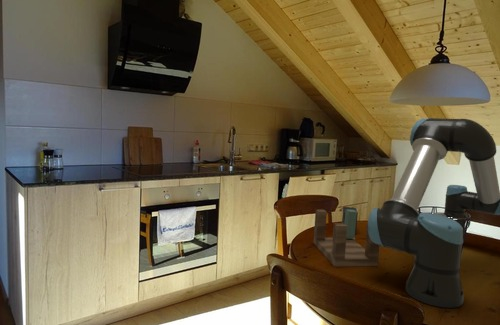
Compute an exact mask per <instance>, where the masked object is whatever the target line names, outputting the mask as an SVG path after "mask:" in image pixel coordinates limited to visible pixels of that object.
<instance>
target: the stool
mask: <svg viewBox="0 0 500 325" xmlns="http://www.w3.org/2000/svg"><path fill="white" fill-rule="evenodd" d="M327 212H328V211H326V209H319V208H318V209H315V214H314V228H313V230H314V231H313V234H314V235H313V244H314V246H315V248H317V249H318V250H319V251H320V252H321V254H322V255H323V256H324V257H325V258H326V259H327V260H328V261H329V262H330V264H332V266H334V267H378V266H379V258H380V257H379V256H380V247H381V245H378V244H375V243H373V242H372V241H371V239H370V237H369V234H368V222H367V223H366V230H365V231H366V235H365V247H363V246H362V245H361V244H359V243H358V242H357V241H355V240H354V239H348V238H346V235H347V226H346V225H345V224H344V223H342V222H334V223H333V230H332V231H333V232H332V237H326V228H327V214H328V213H327Z"/></svg>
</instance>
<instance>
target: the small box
mask: <svg viewBox="0 0 500 325" xmlns="http://www.w3.org/2000/svg"><path fill="white" fill-rule="evenodd" d="M346 209H347V210H355V211H357V218H356V227H355V235H357V225H358V214H359V213H358V210H357V208H356V207H349V206H343V207H342V218H341V223H344V220H345V211H346Z"/></svg>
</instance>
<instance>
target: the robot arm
mask: <svg viewBox="0 0 500 325" xmlns="http://www.w3.org/2000/svg"><path fill="white" fill-rule="evenodd" d="M409 142H410V143H409V144H410V146H411V148H412V150H413V152H412V154H411V156H410V159H409V160H408V163H407V165H406V167H405V168H404V171H403V173H402V175H401V178H400V179H399V181H398V184H397V186H396V188H395V190H394V192H393V194H392V196H391V198H390V199H386V200H385V201H384V202H383V204H382V206H381V207H375V208H374V207H373V209H372V210H371V211H370V213H369V215H368V220H367V223H368V234H369V237H370V239H371V241H372V242H373V243H375V244H378V245H380V247H383V248H388V249H391V250H395V251H397V252H402V253H406V254H409V255H413V256H414V263H413V268H412V269H411V272H410V274H409V276H408V278H407V280H406V282H405V292H406V293H407V294H408V295H409V296H410V297H411V298H413V299H414V300H416V301H418V302H421V303H424V304H426V305H430V306H432V307H433V306H434V307H439V308H446V309H447V308H448V309H455V308H459V307H461V306H463V304H464V300H465V298H464V297H465V294H464V291H463V285H462V281H461V278H460V268H461V259H462V258H461V257H462V249H463V244H464V239H463V238H464V237H463V236H464V230H463V226H464V222H465V221H464V220H453V219H450V218H448V217H453V218H466V217H468V216H469V214H467V212H466V210H467V211H473V212H480V213H484V214H490V215H495V216H496V215H497V216H500V186H499V184H500V183H499V180H498V179H499V178H498V173H497V168H496V162H495V156H496V154H497V145H496V142H495V140H494V138H493V136H492V135H491V133H490V132H489V131H488V130H487V129H486V128H485V127H484V126H483V125H481V124H480V123H478V122H477V121H474V120H472V119H468V118H439V117H438V118H437V117H436V118H433V117H427V118H421V119H419V120H417V121H416V122H415V123H414V125H413V126H412V127H411V131H410V136H409ZM448 152H452V153H453V152H454V153H456V152H457V153H459V152H460V153H463V155H464V157H465V158H466V159H467V160H468V161H469V165H470V169H471V175H472V177H473V178H472V179H473V183H474V186H475V191H476V192H475V191H468V187H467V186H465V185H459V184H449V185H447V187H446V194H445V200H444V201H445V203H444V211H443V212H435V211H433V212H434V214H432V213H433V212H421V213H419V211H418V209H419V206H420V205H421V202H422V200H423V197H424V195H425V193H426V191H427V188H428V187H429V184H430V181H431V179H432V176H433V174H434V172H435V169H436V168H437V165H438V163H439V161H441V160H443V159H445V158H446V157H447V154H448ZM380 208H381V209H380ZM465 212H466V213H465ZM470 226H471V219H470V220H469V222H468V227H467V229H469V227H470Z"/></svg>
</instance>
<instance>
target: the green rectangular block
mask: <svg viewBox="0 0 500 325" xmlns="http://www.w3.org/2000/svg"><path fill="white" fill-rule="evenodd" d="M357 212H358V210H357V211H355V210H347V209H346V211H345V220H344V224H345V225H346V226H347V235H346V238H348V239H353V240H354V241H355V240H356V238H355V235H356V234H355V227H356V218H357V219H358V216H357Z"/></svg>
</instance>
